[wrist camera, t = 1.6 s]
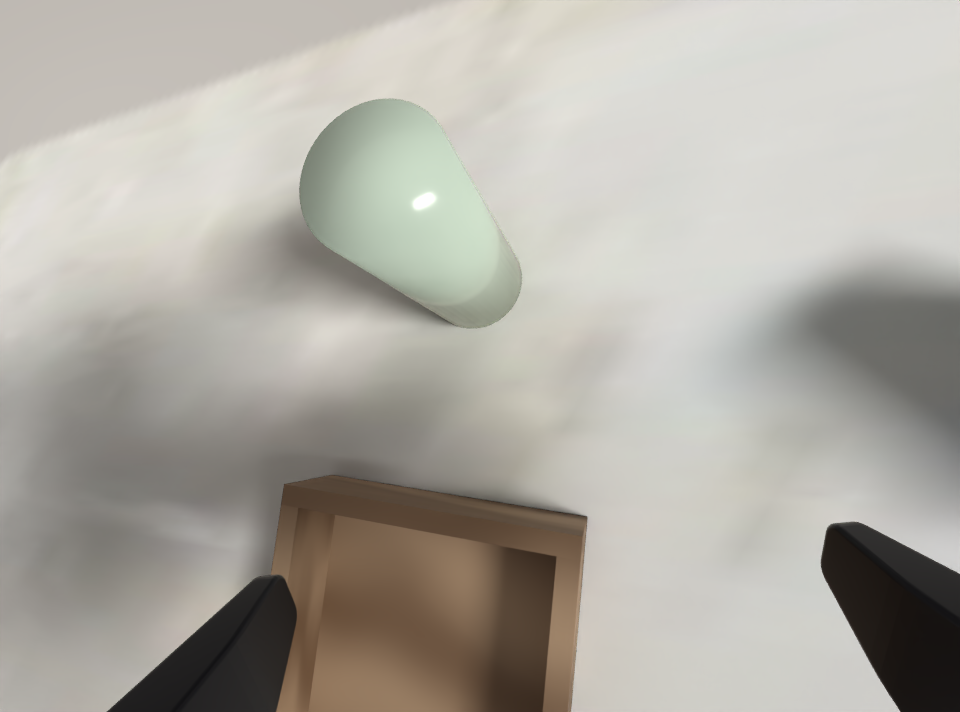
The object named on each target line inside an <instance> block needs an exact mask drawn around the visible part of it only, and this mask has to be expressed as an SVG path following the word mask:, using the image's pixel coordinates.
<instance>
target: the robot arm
mask: <svg viewBox="0 0 960 712" xmlns="http://www.w3.org/2000/svg"><path fill="white" fill-rule="evenodd" d="M821 569H822V573H823V575H824V578H825V580H826V582H827V583H828V585H829V587H830V589H831V591H832V593H833V595H834V596H835V598H836V600H837V602H838V604H839V606H840V608H841V609H842V611H843V613H844V615H845V617H846V619H847V621H848V623H849V624H850V626H851V628H852V630H853V632H854V634H855V636H856V637H857V639H858V641H859V643H860V645H861V647H862V649H863V650H864V652H865V654H866V656H867V658H868V660H869V662H870V663H871V665H872V667H873V669H874V670H875V672H876V674H877V676H878V677H879V679H880V681H881V682H882V684H883V685H884V687H885V688H886V690H887V692H888V693H889V695H890V696H891V698H892V699H893V701H894V702H895V704H896V705H897V707H898V709H899V710H900V712H960V574H959V573H957V572H955V571H953V570H951V569H949V568H947V567H946V566H944V565H942V564H940V563H938V562H936V561H934V560H932V559H930V558H928V557H926V556H924V555H922V554H920V553H918V552H917V551H915V550H913V549H911V548H909V547H907V546H905V545H903V544H901V543H899V542H897V541H895V540H893V539H891V538H889V537H888V536H886V535H884V534H882V533H880V532H878V531H876V530H874V529H872V528H870V527H868V526H866V525H864V524H862V523H859V522H844V523H834V524H831V525H830V526H829V527H828V528H827V530H826V535H825V540H824V546H823V551H822V557H821ZM296 622H297V609H296V605H295V603H294V600H293V598H292V595H291V593H290V590H289V588H288V585H287V583H286V580H285V578H284V577H283V576H282V575H278V574H276V575H266V576H259V577H257V578H255V579H254V580H253V581H251V582H250V583H249V584H248V585H247V586H246V587H245V588H244V589H243V590H241V591H240V592H239V593H238V594H237V595H236V596H235V597H234V598H233V599H231V600H230V601H229V602H228V603H227V604H226V605H225V606H224V607H223V608H221V609H220V610H219V611H218V612H217V613H216V614H215V615H214V616H213V617H211V618H210V619H209V620H208V621H207V622H206V623H205V624H204V625H203V626H201V627H200V628H199V629H198V630H197V631H196V632H195V633H194V634H193V635H191V636H190V637H189V638H188V639H187V640H186V641H185V642H184V643H183V644H181V645H180V646H179V647H178V648H177V649H176V650H175V651H174V652H173V653H171V654H170V655H169V656H168V657H167V658H166V659H165V660H164V661H163V662H161V663H160V664H159V665H158V666H157V667H156V668H155V669H154V670H153V671H151V672H150V673H149V674H148V675H147V676H146V677H145V678H144V679H143V680H142V681H140V682H139V683H138V684H137V685H136V686H135V687H134V688H133V689H132V690H130V691H129V692H128V693H127V694H126V695H125V696H124V697H123V698H122V699H120V700H119V701H118V702H117V703H116V704H115V705H114V706H113V707H112V708H110V709H109V710H108V711H107V712H276V711H277V707H278V703H279V698H280V694H281V689H282V685H283V680H284V676H285V671H286V667H287V663H288V658H289V654H290V649H291V645H292V640H293V636H294V631H295V627H296Z"/></svg>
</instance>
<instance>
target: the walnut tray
mask: <svg viewBox="0 0 960 712" xmlns="http://www.w3.org/2000/svg"><path fill="white" fill-rule="evenodd" d="M586 528H587V517H585V516H579V515H573V514H567V513H561V512H555V511H549V510H543V509H536V508H530V507H524V506H518V505H512V504H506V503H500V502H494V501H488V500H481V499H475V498H469V497H463V496H457V495H451V494H445V493H439V492H433V491H426V490H420V489H414V488H408V487H402V486H396V485H390V484H384V483H377V482H371V481H365V480H359V479H353V478H347V477H341V476H335V475H329V476H324V477H319V478H314V479H309V480H304V481H299V482H294V483H288V484H284V489H283V495H282V502H281V509H280V516H279V523H278V529H277V536H276V543H275V550H274V557H273V563H272V570H271V575H276V574H278V575H282V576H283V577H284V578H285V580H286V583H287V585H288V588H289V590H290V593H291V595H292V598H293V600H294V603H295V605H296V609H297V622H296V627H295V631H294V636H293V640H292V645H291V649H290V654H289V658H288V663H287V667H286V671H285V676H284V680H283V685H282V689H281V694H280V698H279V703H278V707H277V711H276V712H571V704H572V693H573V681H574V669H575V657H576V646H577V634H578V622H579V610H580V599H581V587H582V575H583V563H584V552H585V540H586Z"/></svg>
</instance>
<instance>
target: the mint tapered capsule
mask: <svg viewBox="0 0 960 712" xmlns="http://www.w3.org/2000/svg"><path fill="white" fill-rule="evenodd" d="M299 191H300V204H301V209H302V213H303V216H304V219H305V221H306V223H307V225H308V227H309V229H310V230H311V232H312V233H313V235H314V236H315V237H316V238H317V239H318V240H319V241H320V242H321V243H322V244H323V245H325V246H326V247H327V248H329V249H331V250H332V251H334V252H335V253H337V254H339V255H340V256H342V257H344V258H345V259H347V260H349V261H350V262H352V263H353V264H355V265H357V266H358V267H360V268H362V269H363V270H365V271H367V272H368V273H370V274H372V275H373V276H375V277H376V278H378V279H380V280H381V281H383V282H385V283H386V284H388V285H390V286H391V287H393V288H394V289H396V290H398V291H399V292H401V293H403V294H404V295H406V296H408V297H409V298H411V299H412V300H414V301H416V302H417V303H419V304H421V305H422V306H424V307H426V308H427V309H429V310H430V311H432V312H434V313H435V314H437V315H439V316H440V317H442V318H444V319H445V320H447V321H449V322H450V323H452V324H454V325H456V326H459V327H463V328H482V327H485V326H489V325H491V324H493V323H495V322H497V321H499V320H500V319H501V318H503V317H504V316H505V315H506V314H507V313H508V312H509V311H510V310H511V308H512V307H513V306H514V304H515V302H516V301H517V298H518V296H519V293H520V290H521V284H522V272H521V267H520V264H519V261H518V259H517V257H516V255H515V253H514V252H513V250H512V248H511V246H510V245H509V243H508V241H507V239H506V238H505V236H504V234H503V233H502V231H501V229H500V227H499V226H498V224H497V222H496V220H495V219H494V217H493V215H492V213H491V212H490V210H489V208H488V206H487V205H486V203H485V201H484V200H483V198H482V196H481V194H480V193H479V191H478V189H477V187H476V186H475V184H474V182H473V180H472V179H471V177H470V175H469V174H468V172H467V170H466V168H465V167H464V165H463V163H462V161H461V160H460V158H459V156H458V154H457V153H456V151H455V149H454V147H453V146H452V144H451V142H450V141H449V139H448V137H447V135H446V134H445V132H444V130H443V128H442V127H441V125H440V124H439V123H438V121H437V120H436V119H435V118H434V117H433V116H432V115H431V114H430V113H429V112H428V111H426V110H425V109H423V108H422V107H420V106H418V105H416V104H414V103H411V102H408V101H404V100H399V99H378V100H372V101H368V102H364V103H362V104H359V105H357V106H354V107H353V108H351V109H349V110H347V111H345V112H344V113H342V114H341V115H340V116H338V117H337V118H336V119H334V120H333V121H332V122H331V123H330V124H329V125H328V126H327V127H326V128H325V129H324V130H323V131H322V132H321V134H320V135H319V136H318V138H317V139H316V140H315V142H314V144H313V145H312V147H311V149H310V151H309V153H308V155H307V157H306V160H305V163H304V166H303V169H302V173H301V178H300V188H299Z"/></svg>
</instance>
